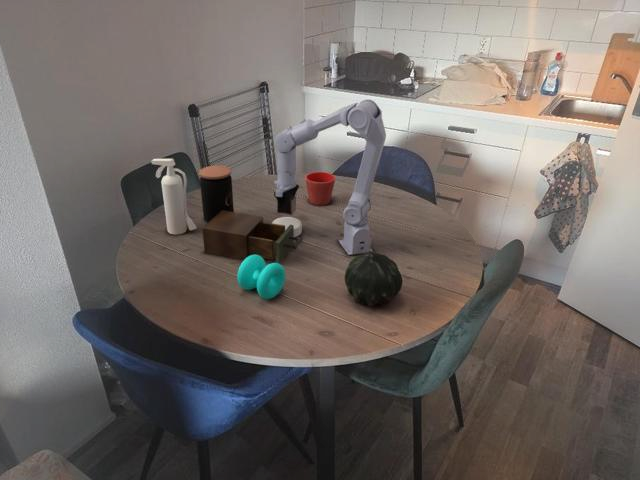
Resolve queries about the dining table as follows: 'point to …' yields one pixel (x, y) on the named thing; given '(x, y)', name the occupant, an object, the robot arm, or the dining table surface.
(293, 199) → the cube with black handle
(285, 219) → the white ridged disc
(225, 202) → the coffee jar
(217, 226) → the cabinet
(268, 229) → the drawer
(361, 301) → the squash
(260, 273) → the teal yo-yo
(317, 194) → the flower pot
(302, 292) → the dining table surface
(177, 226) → the fire extinguisher
